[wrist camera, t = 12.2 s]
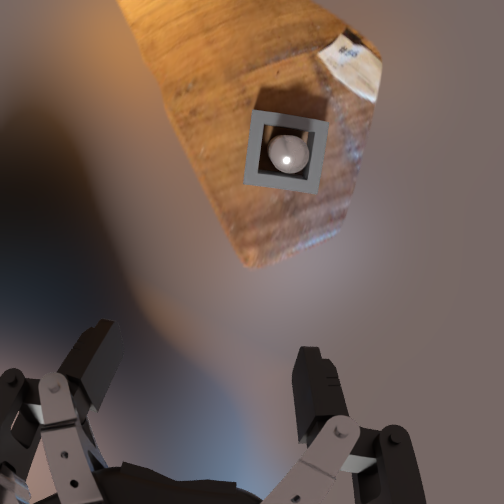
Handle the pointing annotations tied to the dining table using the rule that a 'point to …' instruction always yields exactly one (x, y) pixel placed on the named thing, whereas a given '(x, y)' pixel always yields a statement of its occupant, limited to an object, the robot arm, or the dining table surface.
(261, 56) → the dining table surface
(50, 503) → the robot arm
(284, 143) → the peg
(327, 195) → the dining table surface
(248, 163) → the box
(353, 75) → the dining table surface
